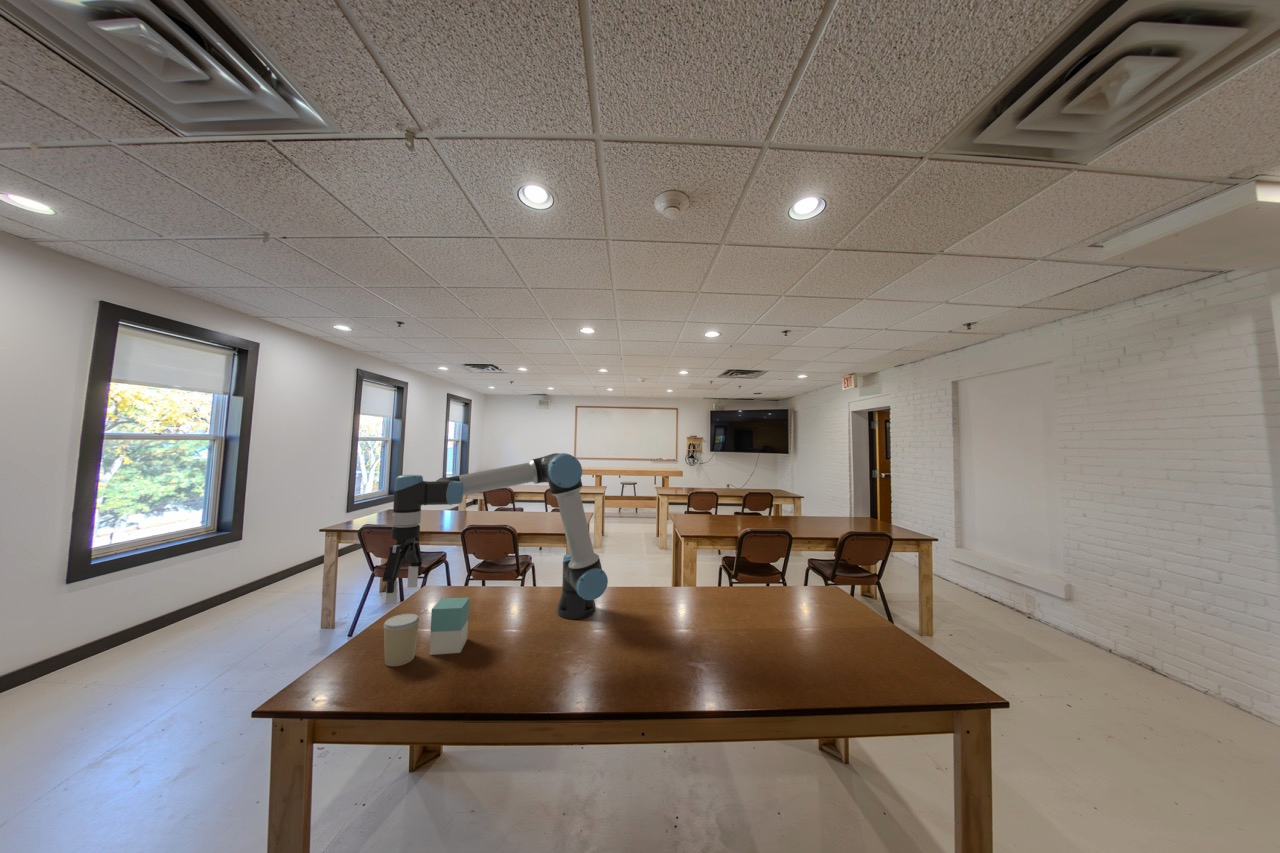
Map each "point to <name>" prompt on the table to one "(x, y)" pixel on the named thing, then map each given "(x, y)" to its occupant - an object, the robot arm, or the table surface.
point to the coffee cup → (400, 639)
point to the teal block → (450, 614)
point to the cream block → (448, 641)
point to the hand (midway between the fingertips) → (402, 594)
